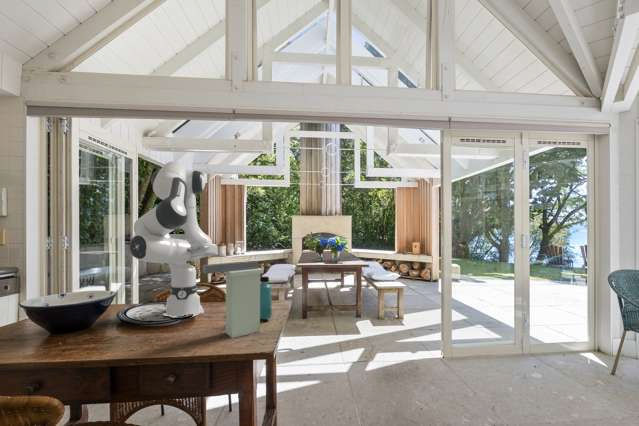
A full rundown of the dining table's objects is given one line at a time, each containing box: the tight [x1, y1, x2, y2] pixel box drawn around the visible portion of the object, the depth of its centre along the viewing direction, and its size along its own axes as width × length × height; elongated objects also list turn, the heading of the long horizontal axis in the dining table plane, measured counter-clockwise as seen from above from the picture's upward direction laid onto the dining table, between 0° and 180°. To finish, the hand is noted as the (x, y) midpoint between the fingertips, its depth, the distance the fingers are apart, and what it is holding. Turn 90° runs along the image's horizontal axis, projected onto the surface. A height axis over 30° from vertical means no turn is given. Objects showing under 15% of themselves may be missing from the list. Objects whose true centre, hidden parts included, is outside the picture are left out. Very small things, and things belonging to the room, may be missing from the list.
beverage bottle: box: [260, 276, 273, 320], centre depth 150 cm, size 6×7×20 cm
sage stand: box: [222, 267, 265, 339], centre depth 134 cm, size 14×9×26 cm, turn 126°
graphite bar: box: [202, 260, 259, 275], centre depth 131 cm, size 22×3×3 cm, turn 126°
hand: (206, 255), depth 126 cm, fingers open, 8 cm apart
